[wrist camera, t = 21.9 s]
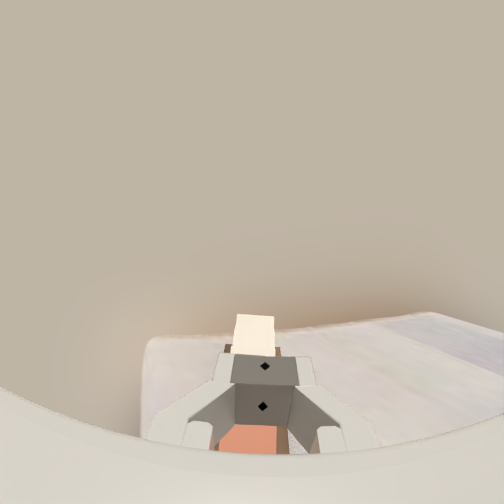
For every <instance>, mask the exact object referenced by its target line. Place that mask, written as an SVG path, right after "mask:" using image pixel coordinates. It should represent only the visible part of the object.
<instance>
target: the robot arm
mask: <svg viewBox="0 0 504 504" xmlns="http://www.w3.org/2000/svg"><path fill="white" fill-rule="evenodd" d="M234 424H238V425H264V426H286V427H287V428H288V429H289V431H290V432H291V433H292V434H293V435H294V437H295V438H296V439H297V440H298V441H299V443H300V444H301V445H302V446H303V447H304V448H305V450H306V451H307V452H308V453H309V454H252V453H236V452H224V451H214V446H215V445H216V444H217V443H218V442H219V441H220V440H221V439H222V438H223V437H224V436H225V435H226V434H227V433H228V432H229V431H230V430H231V429H232V428H233V427H234ZM0 504H504V413H503V414H501V415H498V416H496V417H493V418H490V419H488V420H485V421H482V422H479V423H476V424H473V425H470V426H467V427H464V428H461V429H458V430H454V431H451V432H447V433H444V434H440V435H436V436H432V437H428V438H424V439H420V440H416V441H411V442H406V443H401V444H396V445H390V446H384V447H380V445H379V442H378V439H377V436H376V433H375V431H374V428H373V425H372V423H371V421H369V420H368V419H366V418H365V417H364V416H362V415H361V414H359V413H358V412H356V411H355V410H354V409H352V408H351V407H349V406H348V405H347V404H345V403H344V402H343V401H341V400H340V399H338V398H337V397H336V396H334V395H333V394H332V393H330V392H329V391H328V390H326V389H325V388H324V387H322V386H317V383H316V379H315V375H314V370H313V366H312V362H311V358H310V357H309V356H295V357H275V356H260V355H247V354H234V353H222V352H220V353H219V355H218V359H217V363H216V367H215V371H214V375H213V379H212V381H207V382H205V383H204V384H202V385H201V386H199V387H198V388H196V389H195V390H193V391H191V392H190V393H188V394H187V395H185V396H184V397H182V398H180V399H179V400H177V401H176V402H174V403H172V404H171V405H169V406H168V407H166V408H164V409H163V410H161V411H159V412H158V413H156V415H155V417H154V419H153V422H152V424H151V427H150V429H149V431H148V434H147V436H146V439H142V438H138V437H133V436H130V435H126V434H122V433H118V432H114V431H111V430H107V429H104V428H100V427H97V426H94V425H91V424H88V423H85V422H82V421H79V420H76V419H73V418H70V417H68V416H65V415H62V414H60V413H57V412H55V411H52V410H50V409H47V408H45V407H43V406H40V405H38V404H36V403H33V402H31V401H29V400H27V399H25V398H22V397H20V396H18V395H16V394H14V393H12V392H10V391H8V390H6V389H4V388H2V387H0Z"/></svg>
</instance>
